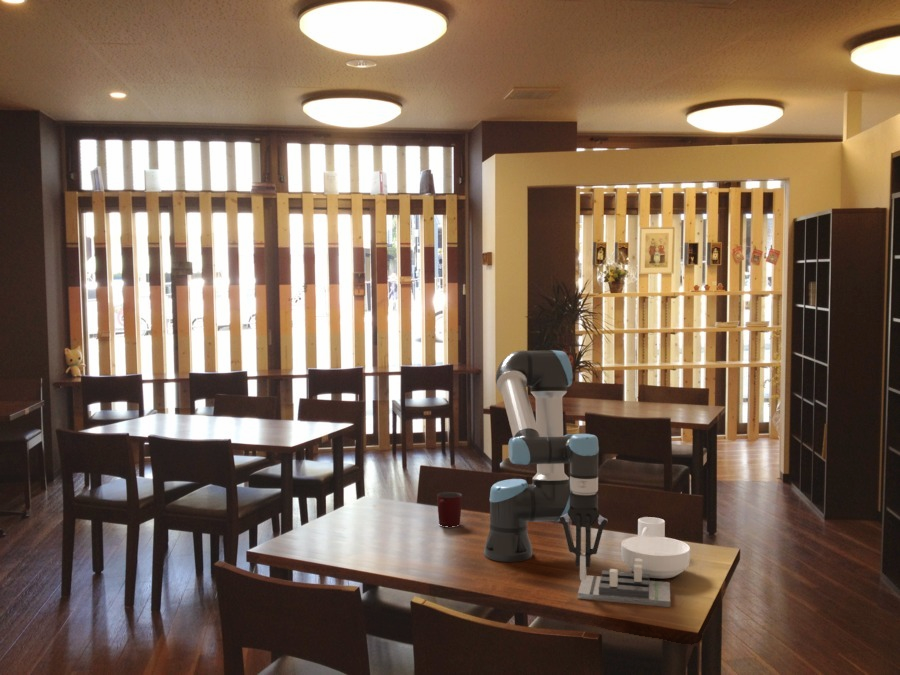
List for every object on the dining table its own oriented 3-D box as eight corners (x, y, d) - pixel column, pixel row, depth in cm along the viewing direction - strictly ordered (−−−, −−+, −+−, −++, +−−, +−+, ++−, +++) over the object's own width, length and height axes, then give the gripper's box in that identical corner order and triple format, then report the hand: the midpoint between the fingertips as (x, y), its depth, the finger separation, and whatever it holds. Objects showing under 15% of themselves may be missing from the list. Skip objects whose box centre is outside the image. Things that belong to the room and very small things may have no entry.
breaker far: (634, 575, 223) (634, 560, 223) (634, 572, 225) (635, 558, 225) (641, 575, 223) (642, 561, 222) (642, 572, 225) (642, 558, 225)
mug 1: (451, 532, 279) (451, 500, 278) (428, 528, 283) (428, 497, 282) (465, 523, 290) (465, 493, 289) (443, 520, 293) (443, 490, 293)
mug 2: (654, 561, 248) (654, 527, 247) (629, 556, 252) (629, 523, 252) (668, 551, 257) (668, 519, 257) (643, 546, 262) (644, 515, 262)
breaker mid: (633, 581, 218) (634, 567, 218) (634, 578, 220) (634, 564, 220) (641, 582, 217) (641, 567, 217) (641, 579, 220) (641, 564, 219)
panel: (577, 598, 215) (577, 585, 215) (582, 580, 230) (583, 568, 230) (670, 607, 209) (670, 593, 209) (669, 587, 224) (669, 575, 224)
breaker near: (609, 586, 214) (609, 571, 214) (610, 583, 216) (610, 568, 216) (617, 587, 214) (617, 572, 213) (617, 584, 216) (617, 569, 216)
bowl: (687, 565, 243) (688, 538, 243) (692, 587, 224) (692, 557, 224) (621, 560, 248) (621, 533, 248) (620, 582, 229) (620, 552, 228)
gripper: (557, 493, 214) (557, 580, 215) (607, 496, 211) (606, 585, 212) (561, 487, 221) (560, 571, 222) (609, 490, 218) (608, 576, 219)
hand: (583, 578), depth 217 cm, fingers closed
